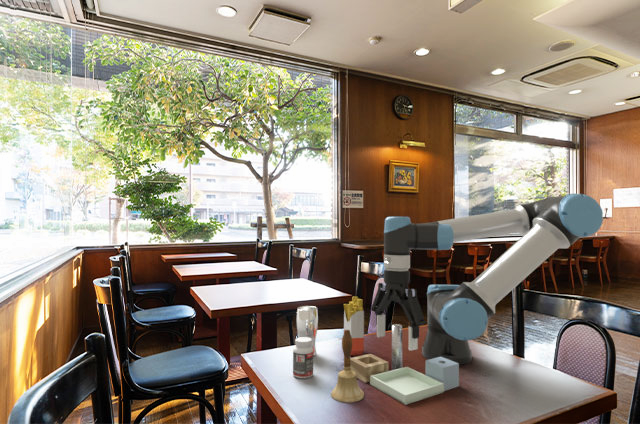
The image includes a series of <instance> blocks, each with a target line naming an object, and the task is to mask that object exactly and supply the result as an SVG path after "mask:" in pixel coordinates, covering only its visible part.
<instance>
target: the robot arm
mask: <svg viewBox="0 0 640 424" xmlns="http://www.w3.org/2000/svg"><path fill="white" fill-rule="evenodd" d="M603 213H604V212H603V209H602V207H601V205H600V204H599V202H598V201H597V200H596V199H595V198H593V197H592V196H590V195H587V194H583V193H570V194H569V193H568V194H567V195H559V196H558V195H557V196H550V197H545V198H543V199H539V200H535V201H532V202H528V203H523V204H519V205H516V206H515V207H514V208H513V209H512V208H511V209H506V210H501V211H500V210H499V211H495V212H487V213H481V214H475V215H474V214H473V215H469V216H464V217H457V218H456V217H455V218H451V219H450V218H449V219H444V220H438V221H433V222H426V223H424V222H422V223H413V222H412V221H411V218H410V217H409V216H387V217H386V218H385V219H384V229H383V248H384V249H383V268H385V269H384V270H383V282H379V283H378V284H377V292H376V294H375V297H374V300H373V302H372V304H371V308H370V309H371V312H374V314H375V325H376V338H383V337H385V336H386V314H385V311H386V310H387V309H388V307H389V306H390V305H391V303H392V302H395V303H398V305H400V306H401V307H402V310H403V312H404V313H405V316H406V318H407V320H408V322H409V324H410V325H408V345H407V346H408V351H410V352H411V351H415V350H418V346H419V345H418V341H419V338H420V327H421V326H425V325H426V320H425V317H424V314H423V311H422V308H421V305H420V301H419V298H418V293H417V292H418V290H417V289H416V288H410V289H409V284H410V283H411V272H410V270H409V269H410V268H411V250H426V251H427V250H433V251H436V250H437V251H442V250H443V251H446V250H451V249H452V247H453V245H454V243H457V242H464V241H471V240H477V239H484V238H490V237H497V236H498V237H499V236H504V235H505V236H506V235H511V234H520V235H522V236H521V238H519V239H518V240H517V241H516V242H515V243H514V244H512V245H511V246H510V247H509V248H508V249H507V250H506V251H504V253H502V254H501V255H500V256H499V257H498V258H497V259H496V260H495V261H494V262H492V263H491V264H490V265H489V266H488V267H487V268H486V269H484V271H483V272H481V273H480V274H479V275H478V276H477V277H476V278H475V279H474V280H472V281H471V282H469V281H468V282H467V281H463V282H462V283H461V284H429V285H428V287H427V292H426V298H427V332H426V335H425V338H424V341H423V344H422V347H421V351H422V352H421V355H422V356H423V357H424V358H425V359H426V360H429V359H433V358H437V357H443V358H446V359H448V360H451V361H454V362H456V363H459V365H465V364H468V363H471V361H472V359H473V356H472V355H473V354H472V350H471V348H470V343H469V341H472V340H475V339H478V338H479V337H482V335H483V334H484V333H485V332H486V330H487V329H488V328H487V327H488V321H489V319H491V318H492V316H494V315H495V314H496V305H497V304H498V303H499V302H500V301H502V300H503V298H505V297H506V296H507V295H508V294H509V293H510V292H512V290H514V289H515V288H516V287H517V286H519V284H520V283H521V282H523V281H524V280H525V279H526V278H528V276H530V274H532V273H533V272H534V271H535V270H536V269H537V268H538V267H540V266H541V265H542V264H543V263H544V262H545V261H546V260H547V259H549V257H550V256H552V255H553V254H554V253H556V251H557V250H558V249H569V247H571V246H572V245H573V244H574V243H576V241H578V240H579V239H580V238H587V237H589V236H592V235H594V234H596V233H597V232H598V231H599V230H600V229H601V227H602V225H603V221H604V217H603Z"/></svg>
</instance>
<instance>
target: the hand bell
mask: <svg viewBox="0 0 640 424" xmlns="http://www.w3.org/2000/svg"><path fill="white" fill-rule="evenodd" d="M341 348H342V352H343V369H342V370H341V371H339V372H338V375H337V376H338V377H337V382H336V385H335V387H334V388H333V389H332V391H331V393H330V397H331V398H332V399H333V400H335V401H337V402H340V403H341V402H342V403H345V404H346V403H350V404H351V403H356V402H359V401H361V400H363V399H364V397H365V393H364V390H362V389H361V387H360V385H359V383H358V380H357V379H358V378H357V377H356V373H355V372H354V371H352V370H351V367H350V366H351V364H350V358H351V356H350V354H351V351H352V337H351V334H350V330H345V331H344V330H343V335H342V338H341Z"/></svg>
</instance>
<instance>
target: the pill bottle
mask: <svg viewBox="0 0 640 424" xmlns="http://www.w3.org/2000/svg"><path fill="white" fill-rule="evenodd" d="M294 344H295V346H294V348H293V350H292V353H293V354H292V375H293V376H294V377H295V378H297V379H309V378H311V377H312V376H313V375H314V357H313V348H312V347H311V344H312V339H311V338H309V337H299V338H298V337H297V338H295V340H294Z"/></svg>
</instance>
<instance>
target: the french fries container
mask: <svg viewBox="0 0 640 424" xmlns="http://www.w3.org/2000/svg"><path fill="white" fill-rule="evenodd" d="M363 302H364V301H363V299H361V298H359V297H358V296H352V298H351V301H348V303H343V310H344V311H343V313H344V314H343V332H344V331H345V330H350V334H351V337H352V351H351V354H350V357H351V356H353V357H357V356H362V355H363V353H364V351H365V310H364V307H363Z"/></svg>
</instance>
